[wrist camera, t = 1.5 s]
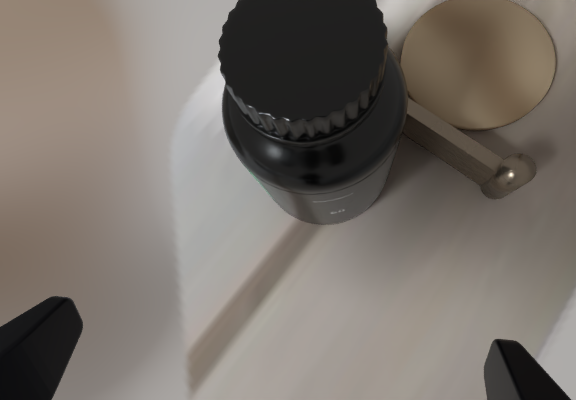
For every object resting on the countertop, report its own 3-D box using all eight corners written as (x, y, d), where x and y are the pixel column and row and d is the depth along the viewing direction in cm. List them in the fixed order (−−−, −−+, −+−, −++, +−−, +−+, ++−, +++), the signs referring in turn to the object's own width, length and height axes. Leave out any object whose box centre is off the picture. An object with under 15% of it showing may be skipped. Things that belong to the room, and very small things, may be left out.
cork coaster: (479, 160, 22) (481, 157, 21) (370, 66, 24) (371, 62, 23) (585, 59, 22) (589, 55, 22) (469, -25, 24) (471, -30, 24)
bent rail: (487, 212, 21) (511, 199, 18) (303, 47, 25) (297, 13, 22) (515, 186, 21) (543, 168, 18) (327, 25, 25) (324, -13, 22)
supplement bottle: (263, 227, 23) (174, 163, 11) (266, 112, 24) (189, -51, 13) (390, 226, 22) (436, 154, 10) (385, 106, 23) (420, -77, 12)
